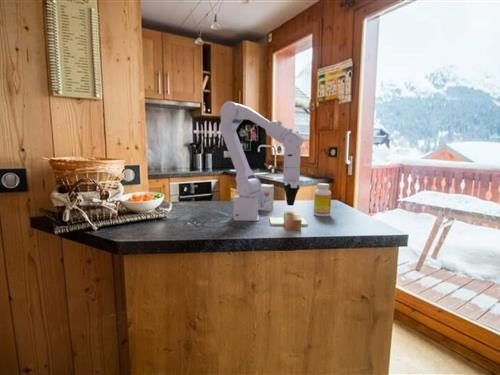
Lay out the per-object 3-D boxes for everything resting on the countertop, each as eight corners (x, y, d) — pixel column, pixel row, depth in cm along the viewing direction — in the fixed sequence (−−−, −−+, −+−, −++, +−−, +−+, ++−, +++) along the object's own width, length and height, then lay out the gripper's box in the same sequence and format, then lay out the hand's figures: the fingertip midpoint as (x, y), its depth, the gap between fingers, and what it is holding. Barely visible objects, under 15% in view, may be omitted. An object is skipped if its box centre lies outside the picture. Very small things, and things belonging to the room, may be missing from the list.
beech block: (283, 220, 106) (286, 229, 99) (284, 211, 105) (286, 220, 98) (297, 220, 106) (300, 229, 99) (298, 211, 105) (301, 220, 98)
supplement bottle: (330, 217, 117) (332, 185, 115) (313, 216, 118) (315, 184, 116) (329, 213, 123) (331, 183, 121) (313, 212, 125) (314, 182, 123)
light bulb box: (246, 209, 129) (246, 184, 128) (250, 206, 135) (251, 183, 134) (270, 211, 126) (270, 186, 124) (273, 208, 132) (274, 184, 131)
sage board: (270, 225, 104) (270, 223, 103) (269, 219, 112) (269, 217, 112) (307, 226, 103) (307, 224, 103) (303, 219, 112) (303, 217, 112)
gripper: (306, 169, 96) (305, 209, 98) (299, 165, 111) (298, 201, 113) (285, 168, 96) (284, 209, 98) (281, 165, 111) (279, 200, 113)
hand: (290, 205), depth 105 cm, fingers closed
